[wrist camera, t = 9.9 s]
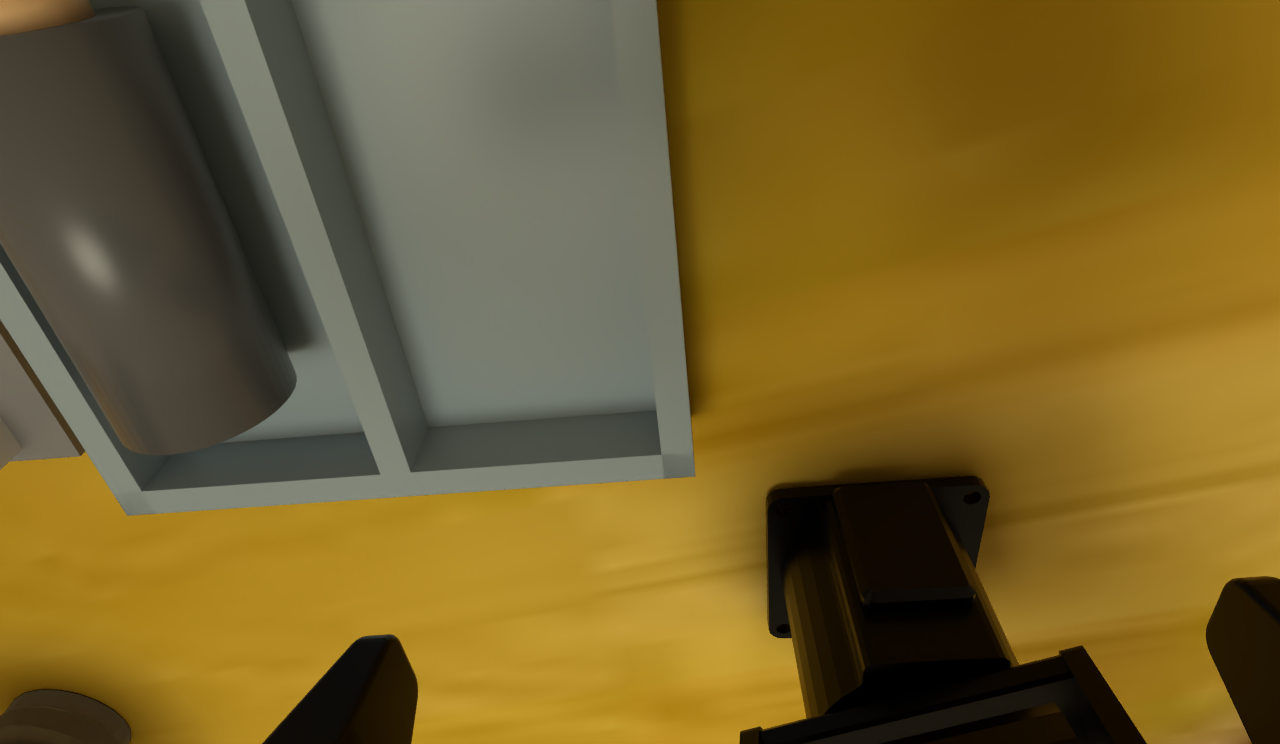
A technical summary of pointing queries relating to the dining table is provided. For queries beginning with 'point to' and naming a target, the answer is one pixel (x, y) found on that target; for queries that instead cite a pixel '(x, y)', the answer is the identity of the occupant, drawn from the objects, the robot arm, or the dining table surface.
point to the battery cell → (129, 231)
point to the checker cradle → (29, 412)
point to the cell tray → (425, 249)
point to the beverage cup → (61, 720)
